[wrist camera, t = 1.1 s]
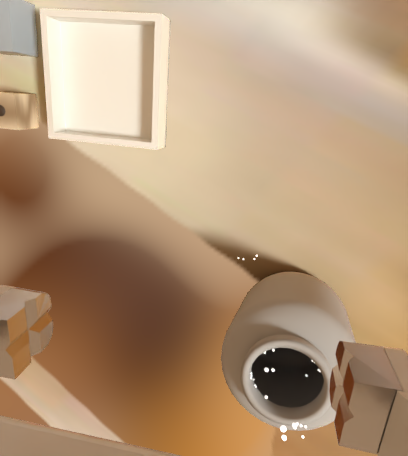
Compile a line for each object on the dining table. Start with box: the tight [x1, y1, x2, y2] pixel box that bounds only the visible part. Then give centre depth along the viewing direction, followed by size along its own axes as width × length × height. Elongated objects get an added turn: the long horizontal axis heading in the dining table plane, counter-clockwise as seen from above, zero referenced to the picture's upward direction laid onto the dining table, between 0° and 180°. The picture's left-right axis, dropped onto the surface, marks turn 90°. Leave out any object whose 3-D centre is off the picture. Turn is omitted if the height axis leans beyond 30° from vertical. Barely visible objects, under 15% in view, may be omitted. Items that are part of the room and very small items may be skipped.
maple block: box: [0, 91, 39, 130], centre depth 49 cm, size 4×4×4 cm
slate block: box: [0, 0, 38, 57], centre depth 45 cm, size 6×6×5 cm
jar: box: [221, 255, 356, 441], centre depth 41 cm, size 19×15×25 cm
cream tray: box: [40, 8, 171, 150], centre depth 45 cm, size 15×15×4 cm
